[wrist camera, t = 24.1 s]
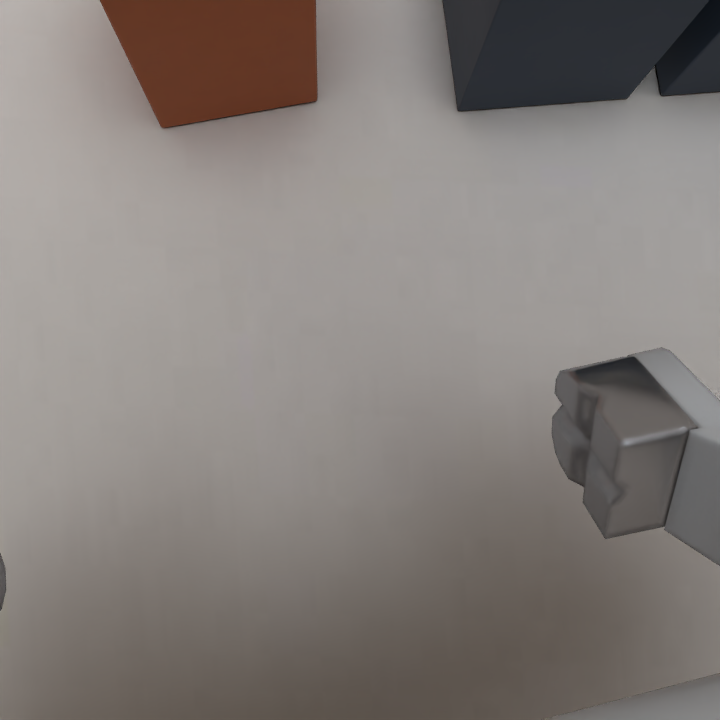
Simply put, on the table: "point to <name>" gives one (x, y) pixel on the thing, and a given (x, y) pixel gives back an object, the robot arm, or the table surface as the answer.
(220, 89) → the i letter block
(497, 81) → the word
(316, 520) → the table surface
